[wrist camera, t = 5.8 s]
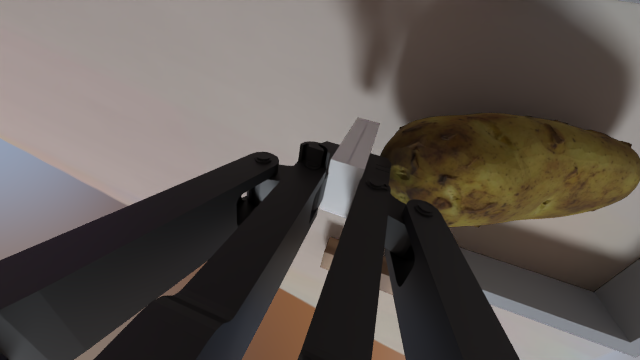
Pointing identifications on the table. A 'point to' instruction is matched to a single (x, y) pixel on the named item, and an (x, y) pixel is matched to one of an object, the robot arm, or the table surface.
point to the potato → (508, 167)
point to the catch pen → (566, 300)
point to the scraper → (329, 254)
